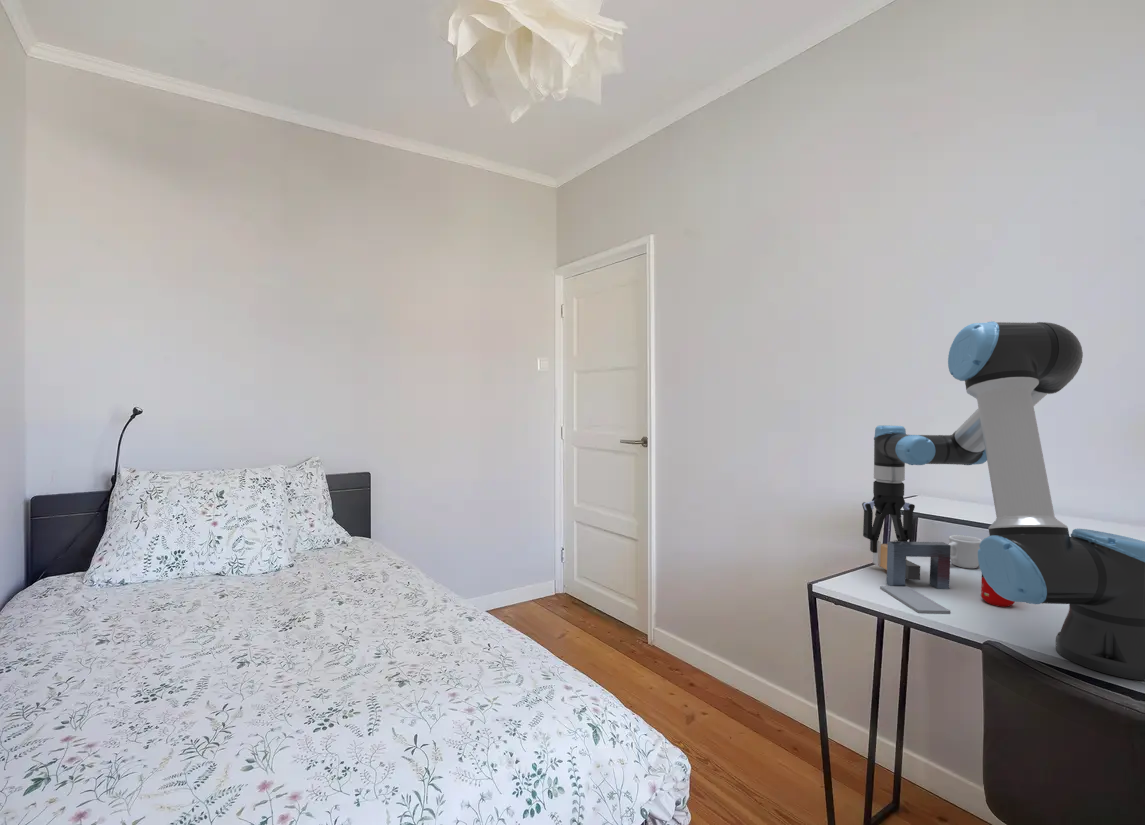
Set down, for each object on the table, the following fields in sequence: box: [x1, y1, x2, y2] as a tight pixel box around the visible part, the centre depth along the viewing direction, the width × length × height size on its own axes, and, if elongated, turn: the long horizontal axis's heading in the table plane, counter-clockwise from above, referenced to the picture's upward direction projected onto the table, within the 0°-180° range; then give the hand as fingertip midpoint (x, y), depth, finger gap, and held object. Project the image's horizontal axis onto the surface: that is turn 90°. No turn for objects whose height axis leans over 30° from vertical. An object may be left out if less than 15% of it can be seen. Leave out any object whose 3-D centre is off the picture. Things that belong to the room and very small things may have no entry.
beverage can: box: [980, 573, 1015, 608], centre depth 131 cm, size 6×6×12 cm
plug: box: [879, 543, 921, 581], centre depth 151 cm, size 13×5×6 cm, turn 179°
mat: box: [879, 585, 951, 615], centre depth 133 cm, size 16×7×1 cm, turn 179°
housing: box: [886, 540, 951, 590], centre depth 143 cm, size 3×14×11 cm, turn 89°
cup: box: [947, 534, 983, 569], centre depth 160 cm, size 11×8×8 cm
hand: (886, 564), depth 157 cm, fingers closed on plug, 5 cm apart
